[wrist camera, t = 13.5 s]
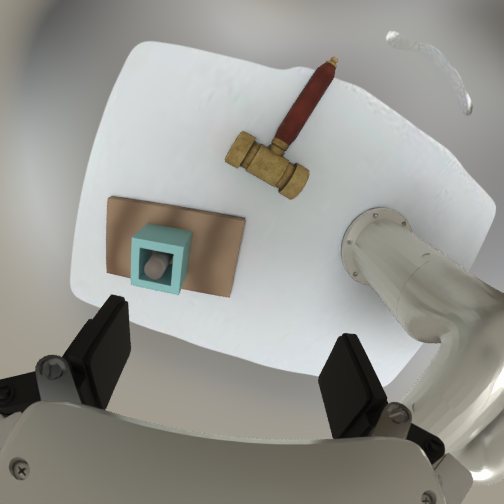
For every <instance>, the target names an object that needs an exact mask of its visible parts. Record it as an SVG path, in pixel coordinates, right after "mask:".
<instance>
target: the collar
mask: <svg viewBox="0 0 504 504" xmlns="http://www.w3.org/2000/svg"><path fill="white" fill-rule="evenodd" d="M192 232H193V231H188V230H182V229H177V228H171V227H165V226H160V225H154V224H148V223H147V224H146V225H145V226H144V227H143V228H142V229H141V230H140V231H138V232H137V233H136V234H135V235H134V236H133V237H132V246H131V285H134V286H138V287H143V288H147V289H152V290H157V291H161V292H166V293H171V294H176V295H179V293H180V291H181V288H182V286H183V283H184V281H185V278H186V276H187V272H188V263H189V255H190V247H191V240H192ZM153 250H155V251H160V252H166V253H171V254H174V257H173V264H168V266H167V268H166V269H165V271H164V273H163V274H162V276H161V277H160V278H159V279H156V280H154V279H150V278H149V277H148V276H147V275H146V274H145V272H144V267H145V265H146V263H147V262H148V261H149V259H150V258H151V257H152V254H153Z"/></svg>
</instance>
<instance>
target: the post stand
mask: <svg viewBox="0 0 504 504" xmlns="http://www.w3.org/2000/svg"><path fill="white" fill-rule="evenodd" d="M147 223H148V224H154V225H160V226H165V227H171V228H177V229H182V230H188V231H193V232H192V240H191V247H190V255H189V263H188V272H187V276H186V278H185V281H184V283H183V286H182V288H181V289H185V290H190V291H195V292H201V293H206V294H212V295H217V296H223V297H229V298H230V294H231V289H232V284H233V278H234V273H235V268H236V263H237V258H238V253H239V249H240V244H241V239H242V234H243V229H244V224H245V218H240V217H235V216H230V215H224V214H219V213H213V212H208V211H202V210H196V209H190V208H185V207H179V206H173V205H167V204H160V203H154V202H148V201H141V200H135V199H128V198H122V197H115V196H111V197H109V198H108V202H107V225H106V266H107V273H110V274H114V275H119V276H123V277H127V278H131V246H132V237H133V236H134V235H135V234H136V233H137V232H138V231H140V230H141V229H142V228H143V227H144V226H145V225H146V224H147ZM173 257H174V254H171V253H166V252H160V251H155V250H153V254H152V257H151V258H150V259H149V261H148V262H147V263H146V265H145V267H144V272H145V274H146V275H147V276H148V277H149V278H150V279H154V280H156V279H159V278H160V277H161V276H162V274H163V273H164V271H165V269H166V268H167V266H168V264H173Z"/></svg>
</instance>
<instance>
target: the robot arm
mask: <svg viewBox="0 0 504 504" xmlns="http://www.w3.org/2000/svg"><path fill="white" fill-rule="evenodd" d="M373 214H374V215H373ZM348 240H349V241H348ZM347 241H348V242H347ZM341 256H342V261H343V264H344V267H345V269H346V270H347V272H348V273H349V275H350V276H351V277H352V278H353V279H355V280H356V281H357V282H360V283H362V284H366V285H371V286H372V288H373V289H374V290H375V291H376V293H377V294H378V295H379V297H380V298H381V299H382V300H383V302H384V303H385V304H386V306H387V307H388V308H389V310H390V311H391V312H392V314H393V315H394V316H395V318H396V319H397V321H398V322H399V323H400V324H401V326H402V327H403V328H404V330H405V331H406V332H407V333H408V334H409V335H410V336H411V337H412V338H414V339H416V340H418V341H420V342H424V343H441V346H440V348H439V350H438V352H437V354H436V355H435V357H434V358H433V360H432V361H431V363H430V365H429V366H428V367H427V369H426V370H425V371H424V373H423V374H422V375H421V376H420V378H419V379H418V380H417V382H416V383H415V384H414V385H413V386H412V388H411V389H410V390H409V391H408V392H407V394H406V395H405V396H404V397H403V398H402V400H401V401H400V402H399V403H398V402H391V403H388V402H387V396H386V394H385V392H384V390H383V388H382V385H381V383H380V381H379V379H378V377H377V375H376V373H375V371H374V369H373V367H372V365H371V363H370V361H369V359H368V356H367V354H366V352H365V350H364V348H363V346H362V344H361V343H360V341H359V339H358V337H357V335H356V334H349V333H344V334H342V336H339V337H338V339H337V341H336V343H335V345H334V347H333V349H332V351H331V353H330V356H329V358H328V360H327V362H326V364H325V366H324V367H323V369H322V371H321V373H320V375H319V379H318V383H319V386H320V390H321V394H322V398H323V402H324V405H325V409H326V413H327V417H328V421H329V424H330V429H331V433H332V437H333V439H324V440H271V439H253V438H240V437H230V436H221V435H214V434H206V433H200V432H194V431H187V430H182V429H177V428H172V427H167V426H163V425H158V424H154V423H150V422H146V421H142V420H138V419H134V418H130V417H126V416H122V415H119V414H116V413H112V412H109V411H106V410H105V409H106V407H107V405H108V403H109V400H110V398H111V395H112V393H113V391H114V389H115V386H116V384H117V382H118V379H119V377H120V375H121V373H122V370H123V368H124V366H125V364H126V361H127V359H128V357H129V355H130V351H131V342H130V328H129V309H128V302H127V301H125V299H124V297H121V296H117V295H113V294H112V295H111V296H110V297H109V298H108V299H107V301H106V302H105V303H104V305H103V306H102V307H101V309H100V310H99V311H98V313H97V314H96V316H95V317H94V318H93V319H89V320H88V321H87V323H86V324H85V325H84V326H83V328H82V329H81V330H80V332H79V333H78V335H77V336H76V337H75V339H74V340H73V342H72V343H71V345H70V346H69V348H68V349H67V350H66V352H65V353H64V355H63V356H62V357H61V356H57V355H47V356H44V357H43V358H41V359H40V360H39V361H38V362H37V364H36V367H35V371H34V372H30V373H26V374H22V375H18V376H13V377H9V378H5V379H1V380H0V504H461V502H462V501H463V499H464V498H465V496H466V494H467V493H468V491H469V489H470V488H471V486H472V484H475V485H480V486H485V485H491V484H495V483H497V482H500V481H501V480H503V479H504V293H502V292H500V291H499V290H497V289H495V288H493V287H491V286H490V285H488V284H486V283H484V282H483V281H481V280H480V279H478V278H477V277H475V276H474V275H472V274H471V273H469V272H468V271H466V270H465V269H464V268H462V267H461V266H460V265H458V264H457V263H455V262H454V261H453V260H451V259H450V258H448V257H447V256H446V255H444V254H443V253H441V252H440V251H438V250H437V249H435V248H434V247H433V246H431V245H430V244H428V243H427V242H425V241H424V240H422V239H421V238H419V237H418V236H416V235H415V234H413V233H412V231H411V227H410V225H409V223H408V221H407V220H406V219H405V218H404V217H403V216H402V215H401V214H400V213H398V212H396V211H394V210H392V209H389V208H374V209H371V210H368V211H366V212H364V213H363V214H361V215H360V216H359V217H357V218H356V219H355V220H354V221H353V223H352V224H351V225H350V226H349V228H348V230H347V232H346V233H345V236H344V239H343V242H342V248H341ZM102 409H103V410H102Z"/></svg>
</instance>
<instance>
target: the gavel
mask: <svg viewBox="0 0 504 504" xmlns="http://www.w3.org/2000/svg"><path fill="white" fill-rule="evenodd" d="M337 62H338V59H337V58H336V57H332V58H331V61H326V63H324V64H323V65H321V66H320V67H318V68H317V70H316V71H315V73H314V74H313V76H312V77H311V79H310V80H309V82H308V83H307V85H306V86H305V88H304V89H303V91H302V92H301V94H300V95H299V97H298V98H297V100H296V102H295V103H294V105H293V106H292V108H291V109H290V111H289V112H288V114H287V116H286V117H285V119H284V120H283V122H282V123H281V125H280V127H279V128H278V130H277V133H276V135H275V138H274V139H273V141H272V142H271V143H272V145H271V144H270V145H269V147H266V146H264V145H262V144H261V145H260V144H258V143H257V142H255V139H256V138H255V137H253V136H252V135H250V134H248V133H246V132H244V131H242V132H241V133H240V134H239V136H238V137H237V139H236V140H235V142H234V144H233V145H232V147H231V149H230V150H229V152H228V154H227V156H226V158H225V162H227V163H228V164H230V165H232V166H234V167H236V168H238V167H239V166H241V167H243V168H245V169H246V171H248V172H249V173H251V174H253V175H255V176H256V177H258V178H260V179H261V180H263V181H265V182H267V183H268V184H270V185H272V186H276V187H277V188H279V190H278V192H279V193H280V194H282V195H284V196H285V197H287V198H289V199H294V198H295V197H296V196H297V195H298V194H299V193H300V192H301V190H302V189H303V187H304V186H305V184H306V182H307V180H308V177H309V170H308V169H306V168H305V167H303V166H301V165H300V164H298V163H295V164H294V165H293V164H292V163H290V162H289V160H287V159H286V158H284V157H283V155H284V154H285V153H284V151H286V150H287V148H288V147H289V145H290V144H291V143H292V142H293V141H294V140H295V139H296V137H297V135H298V134H299V132H300V130H301V129H302V127H303V126H304V124H305V122H306V121H307V119H308V118H309V116H310V115H311V113H312V111H313V110H314V108H315V107H316V105H317V103H318V102H319V100H320V99H321V97H322V96H323V94H324V92H325V91H326V89H327V88H328V86H329V85H330V83H331V82H332V80H333V78H334V74H335V69H336V63H337Z"/></svg>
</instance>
